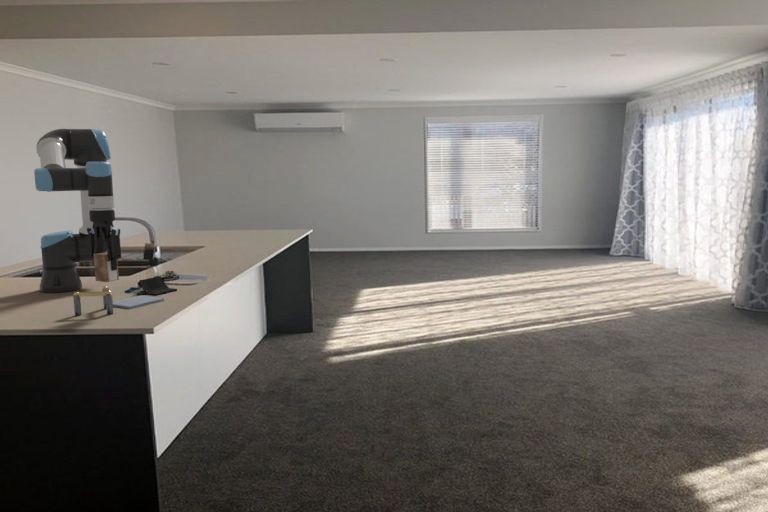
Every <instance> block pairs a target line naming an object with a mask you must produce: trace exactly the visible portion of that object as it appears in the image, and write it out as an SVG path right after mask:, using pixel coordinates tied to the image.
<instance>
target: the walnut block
mask: <svg viewBox="0 0 768 512" xmlns="http://www.w3.org/2000/svg"><path fill="white" fill-rule="evenodd" d="M108 259H109V258H108V254H107V252H104V253H97V254H94V261H93V262H94V264H93V265H94V275H95V276H94V277H95V282H99V283H108V282H110V281H109V279H108V265H107V260H108ZM118 260H119V259H117V280H116V281H119V280H120V277H119V263H118V262H119V261H118ZM114 281H115V280H112V281H111V282H114Z"/></svg>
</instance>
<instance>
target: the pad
mask: <svg viewBox="0 0 768 512" xmlns="http://www.w3.org/2000/svg"><path fill="white" fill-rule="evenodd" d="M163 301H165V298H163V297H158V296H151V295H137V296H132V297H128V298H125V299H124V298H123V299H120V300H115V301H113V308H114V307H115V308H120V309H121V308H122V309H127V310H131V309H135V308H138V307H139V308H140V307H143V306H147V305H151V304H155V303H159V302H163Z"/></svg>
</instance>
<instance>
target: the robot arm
mask: <svg viewBox="0 0 768 512" xmlns="http://www.w3.org/2000/svg"><path fill="white" fill-rule="evenodd" d="M36 154H37V155H38V157H39V158H40V159H39V160H40V168H35V169H34V175H33V176H34V185H35V190H37V191H38V192H47V193H50V192H70V191H71V192H75V191H76V192H78V191H79V192H80V203H81V204H80V205H81V218H82V219H81V221H82V226H81V227H80V228H79V229H78V233H74V232H73V230H62V231H57V232H52V233H47V234H44V235H42V236H41V237H40V249H41V261H42V270H43V271H42V275H41V279H40V283H39V292H40V293H50V294H51V293H53V294H54V293H66V292H72V291H76V290H79V289H82V288H83V282H82V280H81V278H80V276H79V273H78V271H77V268H76V267H77V266H76V263H86V262H94V254H97V253H104V252H107V254H108V258H109V259H108V260H107V265H108V279H109V282H113V281H112V280H114V281H118V280H117V260H119V259H122V248H121V237H120V234H121V229H120V228H115V227H114V224H113V222H115V220H116V211H115V210H114V208H115V197H114V190H113V189H114V188H113V171H112V164H111V162H109V160H111V152H110V146H109V141H108V138H107V135H106V132H105V131H103V130H101V129H93V128H58V129H54V130H50V131H49V132H47V133H45V134H44V135H43V136H41V137H40V138H39V139H38V141H37V143H36ZM65 160H68V161H73V165H74V166H75V167H67V166H66V162H65Z"/></svg>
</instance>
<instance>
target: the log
mask: <svg viewBox="0 0 768 512" xmlns="http://www.w3.org/2000/svg"><path fill="white" fill-rule="evenodd" d="M158 276H161V278H162V279H163V281H164V283H166V282H173V281H177V280H179V279H180V275H179V274H177V273H176V272H175V271H174V270H166V271H165V273H164V274H158V275H154V276H153V278H154V277H158Z"/></svg>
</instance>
